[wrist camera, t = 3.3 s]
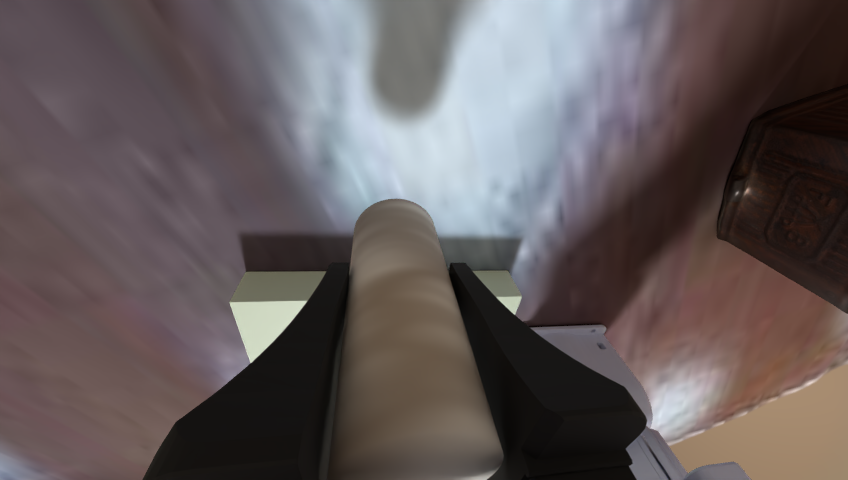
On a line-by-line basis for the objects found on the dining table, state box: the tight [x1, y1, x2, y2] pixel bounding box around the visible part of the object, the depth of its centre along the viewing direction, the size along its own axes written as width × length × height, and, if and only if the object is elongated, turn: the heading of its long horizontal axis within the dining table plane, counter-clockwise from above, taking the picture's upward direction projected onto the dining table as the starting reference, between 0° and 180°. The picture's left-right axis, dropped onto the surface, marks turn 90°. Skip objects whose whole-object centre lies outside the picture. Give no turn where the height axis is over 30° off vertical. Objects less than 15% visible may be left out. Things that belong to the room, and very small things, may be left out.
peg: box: [327, 199, 504, 480], centre depth 11 cm, size 4×4×10 cm
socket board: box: [229, 271, 522, 363], centre depth 24 cm, size 20×14×7 cm
